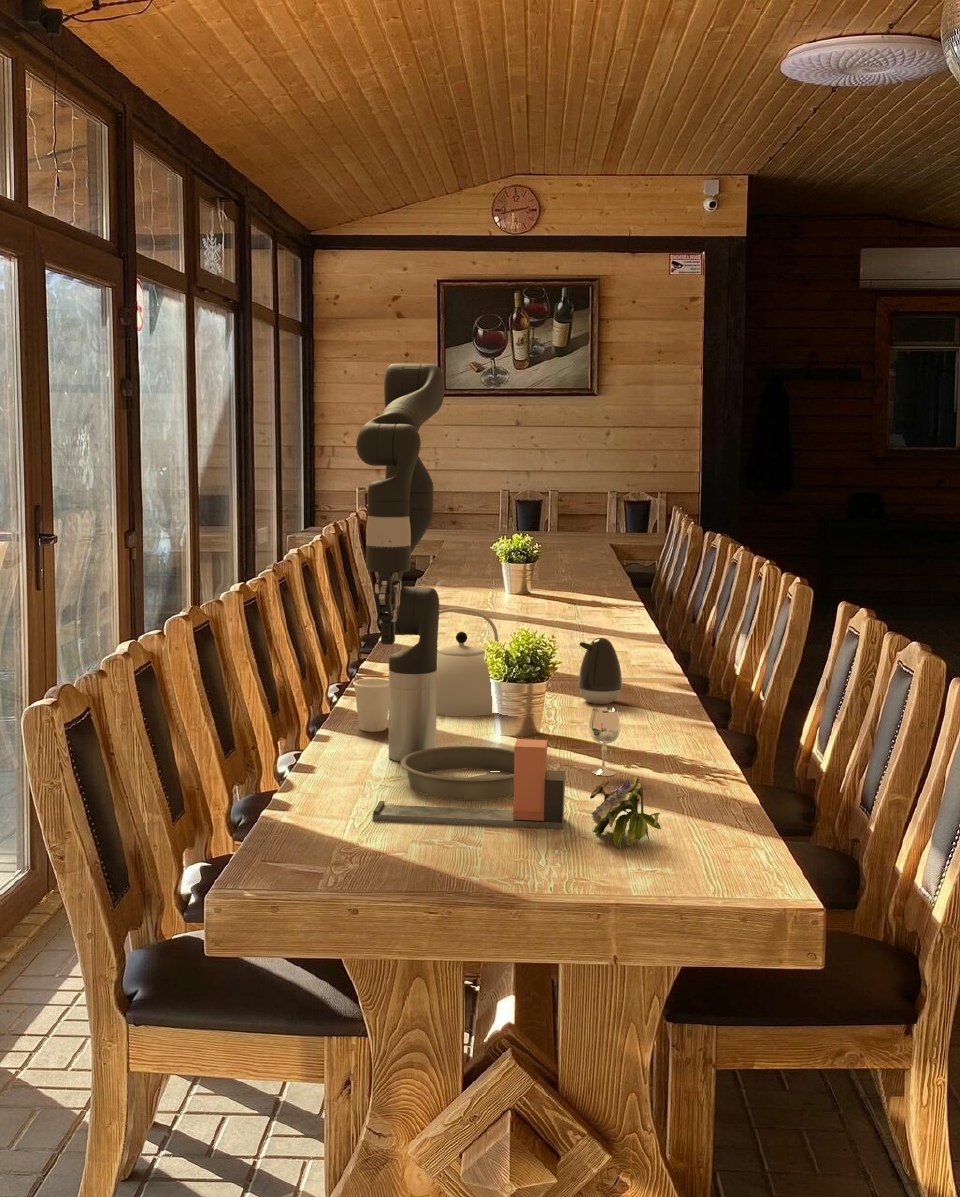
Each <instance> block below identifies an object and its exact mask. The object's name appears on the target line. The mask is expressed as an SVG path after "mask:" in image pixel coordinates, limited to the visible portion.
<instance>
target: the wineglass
mask: <svg viewBox="0 0 960 1197" xmlns="http://www.w3.org/2000/svg"><path fill="white" fill-rule="evenodd" d="M618 711H619V710H618V709H616V708H614V707H605V706H604V707H595V708H593V709H591V714H590V717H589V723H588V730H589V735H590V736H589V737H591V739H592V740H593V741H594V742H596V743H598V744H601V745H602V746H601V747H600V748H601V754H602V756H601V757H602V763H601V764H602V765H601V767H600V768H599V770H598V769H594V771H593V770H592V771H591V774H592V773H594V774H596V775H595V776H597V775H602V776H601V777H612V776H614V775H616V772H615V771H614V770H610V769H608V768H607V767H606V754H607V751H608V748H607V746H606V745H608V744H611V743H613V742H615V741H617V740H618V738H619V737H620V732H621V721H620V715H619V712H618ZM594 774H593V775H594Z"/></svg>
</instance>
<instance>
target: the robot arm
mask: <svg viewBox="0 0 960 1197" xmlns="http://www.w3.org/2000/svg"><path fill="white" fill-rule="evenodd" d="M383 384H384V386H383V388H384V391H383V392H384V393H383V394H384V395H383V396H384V408H383V409H384V410H383V411H382V413H381V415H378V416H376V417H374V418H372V419H370V420H369V421H367V422H365V424H364V425H362V427H361V429H360V431H359V432H358V435H357V438H356V446H355V447H356V453H357V455H358V457H359V459H360V460H361V461H362V462H363V463H365V464H366V465H368V466H375V467H383V466H384V467H385V475H384V476H385V477H384V479H379V480H375V481H372V482H371V483H369V485H368V488H367V489H368V490H367V521H366V530H365V540H366V541H365V542H366V543H365V544H366V545H365V546H366V548H365V553H366V554H365V556H366V558H365V568H366V570H367V571H369V572H373V573H374V572H375V573H378V579H377V581H375V583H374V592H375V594H374V596H373V599H374V602H375V608H376V614H377V617H376V618H377V620H378V621H379V623H380V643H381V644H382V645H390V646H391V645H393V644H394V643H395V642H396V635H402V636H403V635H404V636H405V635H406V636H419V639H418V642H417V643H416V644H415V645H413V646H411V647H409V648H406V649H403V650H400V651H396V652H394V653H392V654H390V656H389V659H388V680H389V711H388V759H390V760H393V761H396V762H400V763H401V760H402V759H403V758H404V757H405V756H407V755H409V754H411V753H414V752H417V751H420V750H425V749H430V748H437V651H438V638H439V637H438V636H439V623H440V614H439V611H440V599H439V598H440V597H439V593H438V592H437V590H436V589H435V588H433V587H426V586H425V587H424V586H423V587H422V586H402V580H403V575H404V572H408V571H410V569H411V562H412V561H411V558H412V557H411V555H412V553H413V551H414V550H415V548H417V545H418V544H419V542H420V541H421V540H422V538H423V537H424V535H425V533H426V532H427V530H428V528H429V527H430V525H431V523H432V520H433V516H434V483H433V479H432V477H431V475H430V473H429V471H428V470H427V468H426V466H425V465H424V463H423V461H422V460H421V458H420V457H419V454H420V450H421V445H422V444H421V436H420V434H419V430H420V428H421V426H422V425H424V423H426V422H427V421H428V420H429V419H430V418H432V417H433V416H434V415H435V414H436V413H437V412H439V410H440V409H441V407H442V406H443V405H442V404H443V402H444V398H445V378H444V373H443V371H442V369H441V368H440V367H439V366H437V365H435V364H432V363H391V364H389V365H388V367H387V368H386V371H385V375H384V383H383Z"/></svg>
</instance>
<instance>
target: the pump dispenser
mask: <svg viewBox="0 0 960 1197" xmlns="http://www.w3.org/2000/svg"><path fill="white" fill-rule="evenodd" d="M579 647H582V648H583V649H585V650H586V651H585V653H584V656H583V659H582V661H581V665H580V670H579V674H578V682H577V686H578V687H577V688H578V689H579V691H580V695H581V696H582V698H583V699H584V700H585V701H586V702H588V703H590V704H592V705H593V704H594V705H607V704H608V705H609V704H611V703H613V702H614V701H616V700H617V699H618V697H619V695H620V693H621V690H622V689H623V678H622V677H623V676H622V671H621V670H622V669H621V665H620V661H619V658H618V657H619V656H618V655H617V651H616V649H615V647H614V645H613V643H612V642H611V641H610V640H609V639H607V638H606V637H597V638H594V639H593V640H592V641H591V643H587V642H584V641H580V642H579Z"/></svg>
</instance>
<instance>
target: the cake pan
mask: <svg viewBox="0 0 960 1197" xmlns="http://www.w3.org/2000/svg"><path fill="white" fill-rule="evenodd" d="M400 765H401V767H402V768H403V769H404V770H406V772H407V777H408V781H409V785H410V787H411V788H412V789H413V790H414V791H416V792H418V793H420V794H422V795H426V796H429V797H434V798H438V799H447V800H458V801H485V800H494V799H495V800H496V799H498V800H499V799H503V798H508V796H509V797H512V796H514V749H509V748H504V747H495V746H483V745H453V746H451V745H450V746H436V748H430V749H425V750H420V751H417V752H414V753H411V754H409V755H407V756H405V757H404V758H403V759H402V760H401V762H400ZM462 768H467V769H466V770H481V769H482V771H483V770H484V771H487V773H484V774H479V775H475V776H469V777H458V776H457V777H455V776H447V775H446V776H444V775H436V774H431V773H435V772H440V771H448V770H449V769H451V770H463V769H462ZM490 771H500V772H490Z"/></svg>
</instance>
